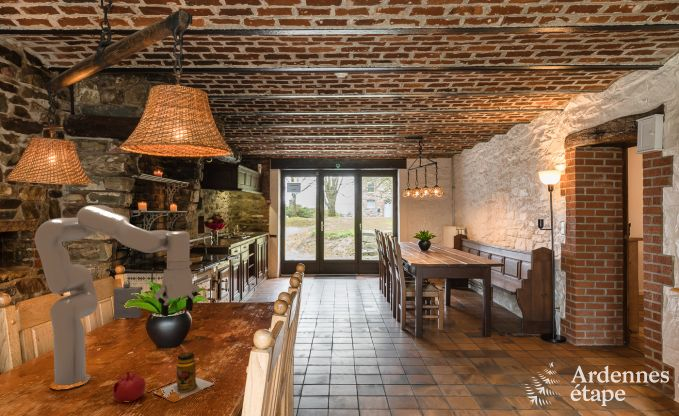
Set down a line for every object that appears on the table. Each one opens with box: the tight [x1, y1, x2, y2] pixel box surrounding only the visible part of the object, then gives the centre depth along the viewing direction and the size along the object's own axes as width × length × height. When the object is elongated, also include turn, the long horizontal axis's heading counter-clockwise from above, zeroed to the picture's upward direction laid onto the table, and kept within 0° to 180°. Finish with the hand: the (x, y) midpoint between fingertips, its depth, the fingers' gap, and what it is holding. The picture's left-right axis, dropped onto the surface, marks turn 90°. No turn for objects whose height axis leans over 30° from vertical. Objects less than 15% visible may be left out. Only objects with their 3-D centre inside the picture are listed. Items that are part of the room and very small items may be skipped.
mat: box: [153, 377, 215, 398], centre depth 145 cm, size 12×16×1 cm
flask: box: [113, 282, 142, 320], centre depth 241 cm, size 15×6×20 cm, turn 93°
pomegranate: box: [112, 370, 146, 403], centre depth 139 cm, size 10×10×9 cm
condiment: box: [173, 351, 200, 395], centre depth 145 cm, size 7×8×12 cm
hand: (177, 313), depth 150 cm, fingers open, 9 cm apart
